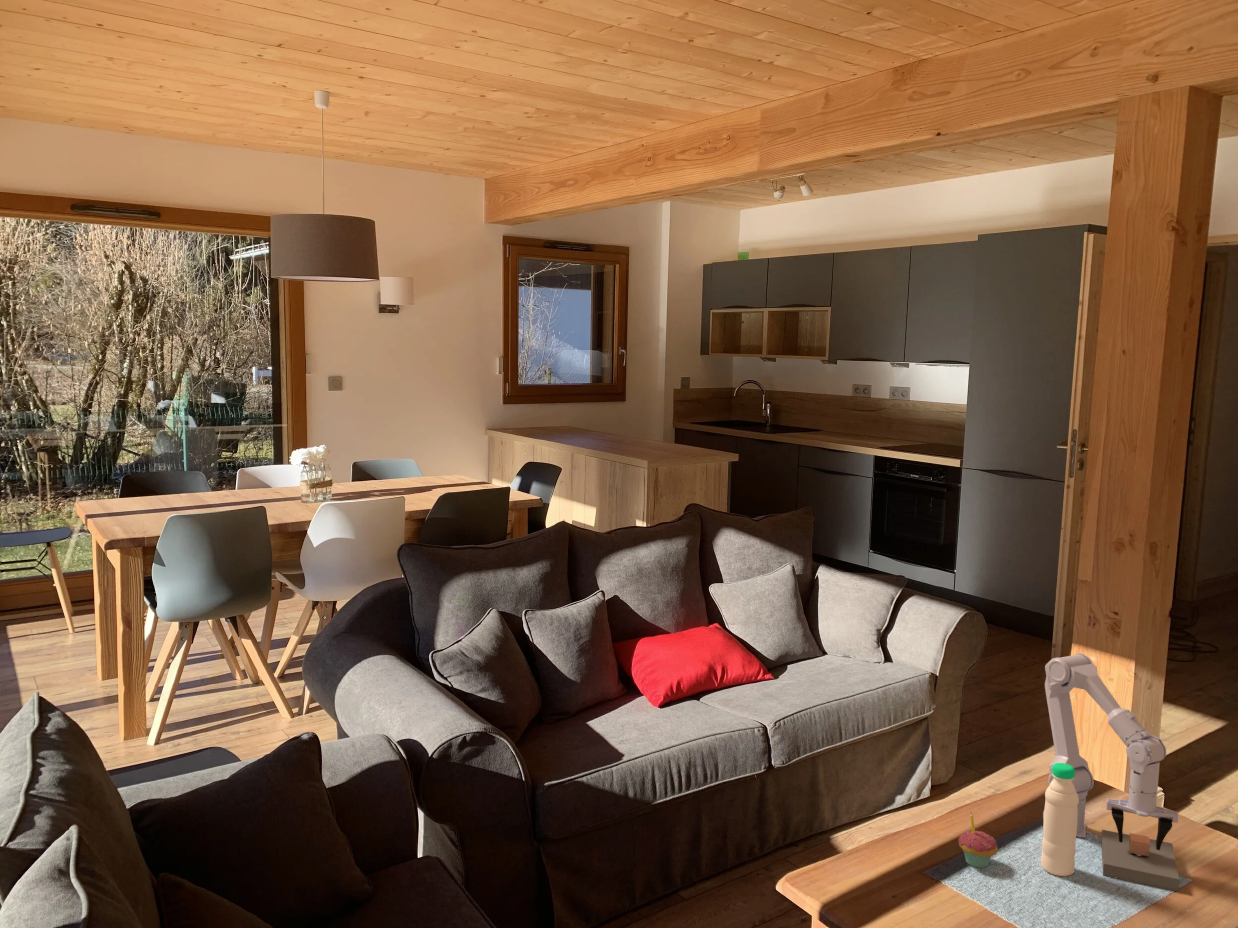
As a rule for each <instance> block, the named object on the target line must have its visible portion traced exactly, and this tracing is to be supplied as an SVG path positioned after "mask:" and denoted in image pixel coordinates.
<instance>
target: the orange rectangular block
mask: <svg viewBox="0 0 1238 928" xmlns="http://www.w3.org/2000/svg"><path fill="white" fill-rule="evenodd" d="M1129 835H1130V836H1129V851H1130V853H1134V854H1136V856H1142V855H1144V856H1149V853H1150V840H1149V839H1150V836H1148V835H1144V834H1137V833H1132V832H1129Z"/></svg>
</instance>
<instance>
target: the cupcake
mask: <svg viewBox="0 0 1238 928" xmlns="http://www.w3.org/2000/svg"><path fill="white" fill-rule="evenodd" d="M969 816H970V826H971V827H970V828H971V830H968V831H965V832H963V833H962V834H961V835H960V836H959V837H958V845H959V847H960V848H961V849H962V851H963V853H964V857H965V862H966V863H967V864H968V865H969V866H971V867H975V868H978V869H979V868H980V869H981V868H986V867H987V866H989V863H990V861H991V859H992V857H993V856H995V855H997V854H998V850H999V848H998V843H997V840H996V839H995V838H994V837H992V836H991V835H990V834H988V833H986V832H984V831H980V830H975V829H976V828H975V822H974V814H972V811H970V815H969Z"/></svg>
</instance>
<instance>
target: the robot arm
mask: <svg viewBox="0 0 1238 928" xmlns="http://www.w3.org/2000/svg"><path fill="white" fill-rule="evenodd" d="M1044 670H1045V675H1046V677H1045V681H1044V689H1045V690H1044V691H1045V697H1046V703H1047V708H1048V714H1049V722H1050V727H1051V734H1052V740H1053V747H1054V748H1053V749H1054V753H1055V756H1054V757H1053V760H1052V761H1051V762H1050V764H1049V766H1048V768H1049V775H1048V781H1047V782H1048V787H1049V786H1050V783H1051V782H1052V781H1053V779H1054V777H1053V775H1052V767H1053V765H1054V764H1055V763H1065V764H1068V765H1071V766H1072V767H1073V768H1074V769H1075V776H1074V779H1073V780H1072V783H1073V785H1074V787H1075V790H1076V792H1077V794H1078V797H1079V803H1078V805H1077V808H1078V818H1077V832H1076V838H1077V837H1078V838H1084V839H1085V838H1086V837H1087V836H1086V835H1087V834H1086V833H1087V832H1086V830H1087V829H1086V828H1087V827H1086V822H1085V820H1086V817H1085V815H1086V814H1085V813H1086V805H1087V804H1086V803H1087V802H1086V801H1087V796H1088V793H1089V792H1088V791H1090V790H1092V789H1093V787H1094V783H1095V782H1094V781H1095V780H1094V779H1095V778H1094V776H1093V774H1092V772H1091V770H1090V767H1089V763H1088V761H1087V760H1086V759H1085V758H1084V757H1082V756H1081V754H1080V749H1079V743H1078V738H1077V731H1076V724H1075V718H1074V713H1073V706H1072V701H1071V694H1070V693H1071V691H1072V690H1073V689H1074V688H1076V689H1080V690H1084V691H1086V693H1087V694H1088V695H1089V696H1090V697H1091V698H1092V699H1093V700H1094V702H1096V704H1097V705H1098V706H1099V708H1101V709H1102V710H1103V711H1104V712H1105V714H1106V715H1107V716H1108V717H1107V723H1108V725H1109V726H1110V728H1111V729H1112V730H1113V731H1114V733H1115V734H1116V735H1117V737H1119V740H1121V742H1122V743H1123V744H1124V745H1125V747H1126V748H1125V750H1126V751H1125V753H1126V755H1127V757H1128V759H1129V767H1130V775H1129V776H1130V777H1129V790H1128V798H1127V799H1112V798H1106V806H1105V807H1106V810H1108V811H1111V816H1112V818H1113V821H1114V823H1115V827H1116V829H1117V833H1118V834H1119V842H1123V834H1124V833H1123V830H1124V828H1123V827H1124V820H1125V817H1124V812H1125V813H1130V814H1133V815H1137V816H1139V817H1144V818H1148V817H1151V818H1155V819H1157V834H1156V839H1155V840H1156V849H1157V850H1160V847H1161V844H1162V842H1164V840H1165V838H1166V836H1167V835H1168V833H1169V832H1170V831H1171V830H1172V828H1173V823H1176V824H1177V823H1178V822H1179V821H1178V820H1179V812H1178V810H1177V811H1176V810H1171V809H1169V808H1168V809H1167V808H1165V807H1161V806H1159V805H1157V802H1158V801H1157V800H1158V788H1159V778H1160V777H1159V776H1160V765H1161V761H1163V760H1165V758H1166V756H1167V748H1166V746H1165V744H1164V742H1163V741H1162V739H1161V738H1160V737H1158V736H1156V735H1153V734H1152V733H1150V732H1148V731H1147V730H1146V729H1145V728H1144V726H1143V725H1142V724H1141V723H1140V722H1139V720H1138V719H1137V718H1136V717H1137V716H1136V714H1135V713H1134V712H1132V711H1131V710H1130V709H1127V708H1122V707H1121V706H1120V704H1119V703H1118V701H1117V700H1116V699H1115V698H1114V696H1113V694H1112V693H1111V692H1110V690H1109V688H1108V687H1107V686H1106V685H1105V683H1104V682H1103V680H1102V679H1101V677H1100V676H1099V674H1098V667H1097V666H1096V665H1095V664H1094V662H1092V660H1091V659H1090V657H1089V656H1088V655H1086V654H1084V653H1075V654H1073V655H1068V656H1062V657H1053V658H1051V659H1050V660H1049V661H1048V662H1047V663H1046V664H1045V666H1044ZM1044 800H1045V801H1046V798H1045V799H1044ZM1045 801H1044V802H1045ZM1042 819H1043V820H1044V810H1043V811H1042Z"/></svg>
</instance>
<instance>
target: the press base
mask: <svg viewBox="0 0 1238 928" xmlns="http://www.w3.org/2000/svg"><path fill="white" fill-rule="evenodd" d="M1129 836H1130V834H1125V833H1123V842H1119V834H1118V831H1117V832H1116V831H1111V830H1105V829H1101V837H1100V839H1101V840H1100V841H1101V844H1100V845H1101V861H1102V876H1104V875H1107V876H1106V877H1109V876H1111V877H1110V878H1114V877H1117V878H1116V879H1118V878H1121V879H1120V880H1123V879H1124V880H1123V881H1127V882H1128V881H1129V882H1132V881H1133V883H1137V882H1138V884H1142V885H1147V886H1151V887H1156V888H1160V889H1165V890H1171V891H1174V892H1179V889H1180V887H1179V886H1180V877H1179V871H1178V866H1177V861H1176V856H1175V851H1174V845H1173V843H1172V842H1167V841H1163V842H1162V844H1161V847H1160V850H1157V849H1156V839H1152V838H1149V840H1150V853H1149V856H1144V855H1142V856H1136V854H1134V853H1130V851H1129Z"/></svg>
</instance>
